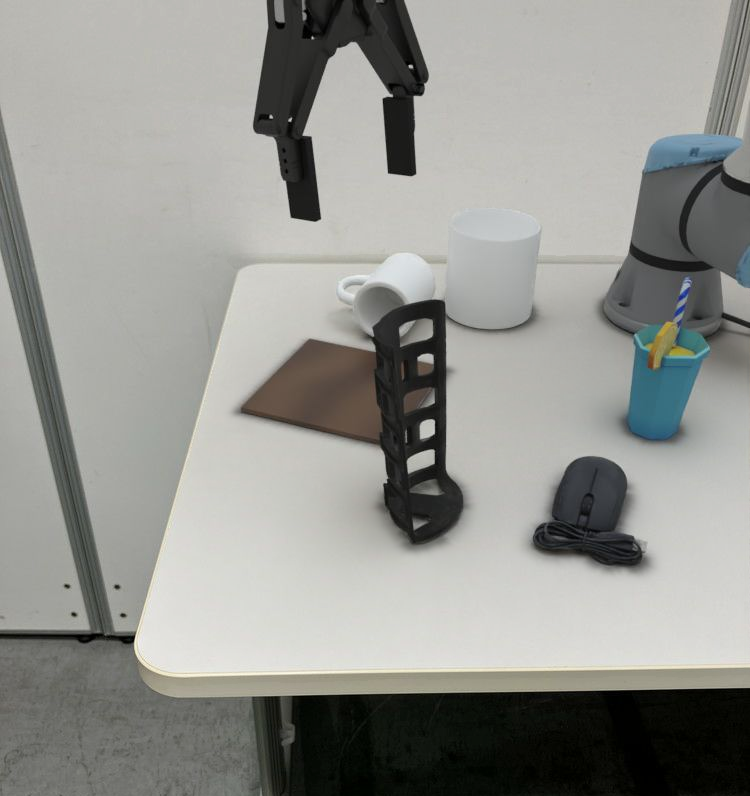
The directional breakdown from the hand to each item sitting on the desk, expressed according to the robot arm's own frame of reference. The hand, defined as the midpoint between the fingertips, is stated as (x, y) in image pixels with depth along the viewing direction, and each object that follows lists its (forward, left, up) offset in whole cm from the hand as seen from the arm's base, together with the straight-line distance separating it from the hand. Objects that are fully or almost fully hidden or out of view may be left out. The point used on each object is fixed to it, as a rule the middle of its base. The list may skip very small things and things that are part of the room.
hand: (356, 195), depth 80 cm
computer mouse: (-25, 0, -27) cm, 37 cm away
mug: (+9, -30, -27) cm, 41 cm away
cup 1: (-3, -39, -27) cm, 47 cm away
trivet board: (+6, -12, -27) cm, 30 cm away
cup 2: (-28, -19, -27) cm, 43 cm away
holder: (-9, +6, -27) cm, 30 cm away
